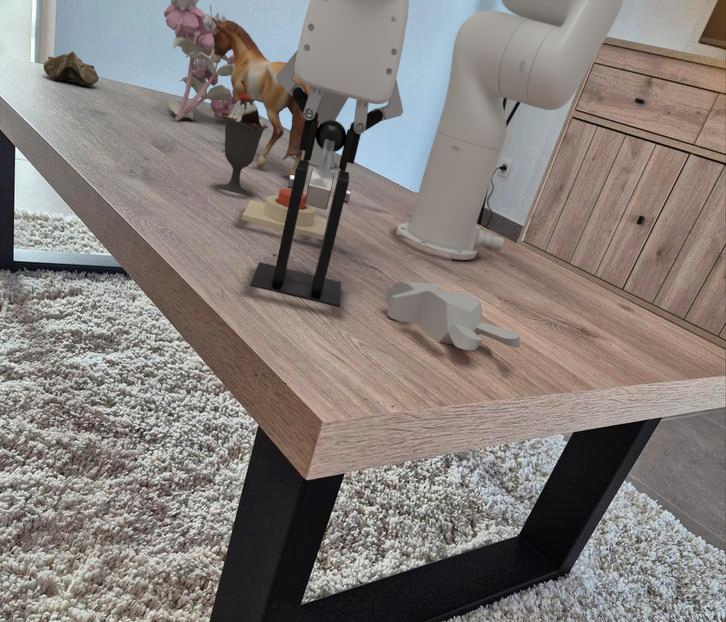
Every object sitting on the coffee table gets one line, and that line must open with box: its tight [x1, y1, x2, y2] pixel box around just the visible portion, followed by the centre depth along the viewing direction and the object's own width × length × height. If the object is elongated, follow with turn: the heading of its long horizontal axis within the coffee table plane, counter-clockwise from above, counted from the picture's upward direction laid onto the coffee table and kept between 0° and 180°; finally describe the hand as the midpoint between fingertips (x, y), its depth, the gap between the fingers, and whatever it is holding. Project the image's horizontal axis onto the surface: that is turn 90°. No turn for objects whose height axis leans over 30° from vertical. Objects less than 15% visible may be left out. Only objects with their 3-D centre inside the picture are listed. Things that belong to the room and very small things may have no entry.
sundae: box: [215, 80, 270, 197], centre depth 96 cm, size 7×7×15 cm
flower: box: [163, 0, 236, 122], centre depth 139 cm, size 20×22×25 cm
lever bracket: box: [250, 160, 352, 308], centre depth 68 cm, size 7×9×13 cm
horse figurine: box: [210, 17, 311, 178], centre depth 116 cm, size 31×8×21 cm, turn 39°
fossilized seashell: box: [43, 51, 100, 87], centre depth 141 cm, size 8×7×10 cm
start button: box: [277, 188, 306, 210], centre depth 88 cm, size 4×4×2 cm
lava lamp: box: [291, 86, 349, 169], centre depth 128 cm, size 9×9×35 cm
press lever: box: [304, 120, 347, 211], centre depth 68 cm, size 12×3×3 cm, turn 0°
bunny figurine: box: [384, 281, 521, 351], centre depth 68 cm, size 10×5×15 cm
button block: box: [241, 194, 328, 241], centre depth 89 cm, size 11×8×4 cm
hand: (325, 162), depth 73 cm, fingers closed on press lever, 3 cm apart
